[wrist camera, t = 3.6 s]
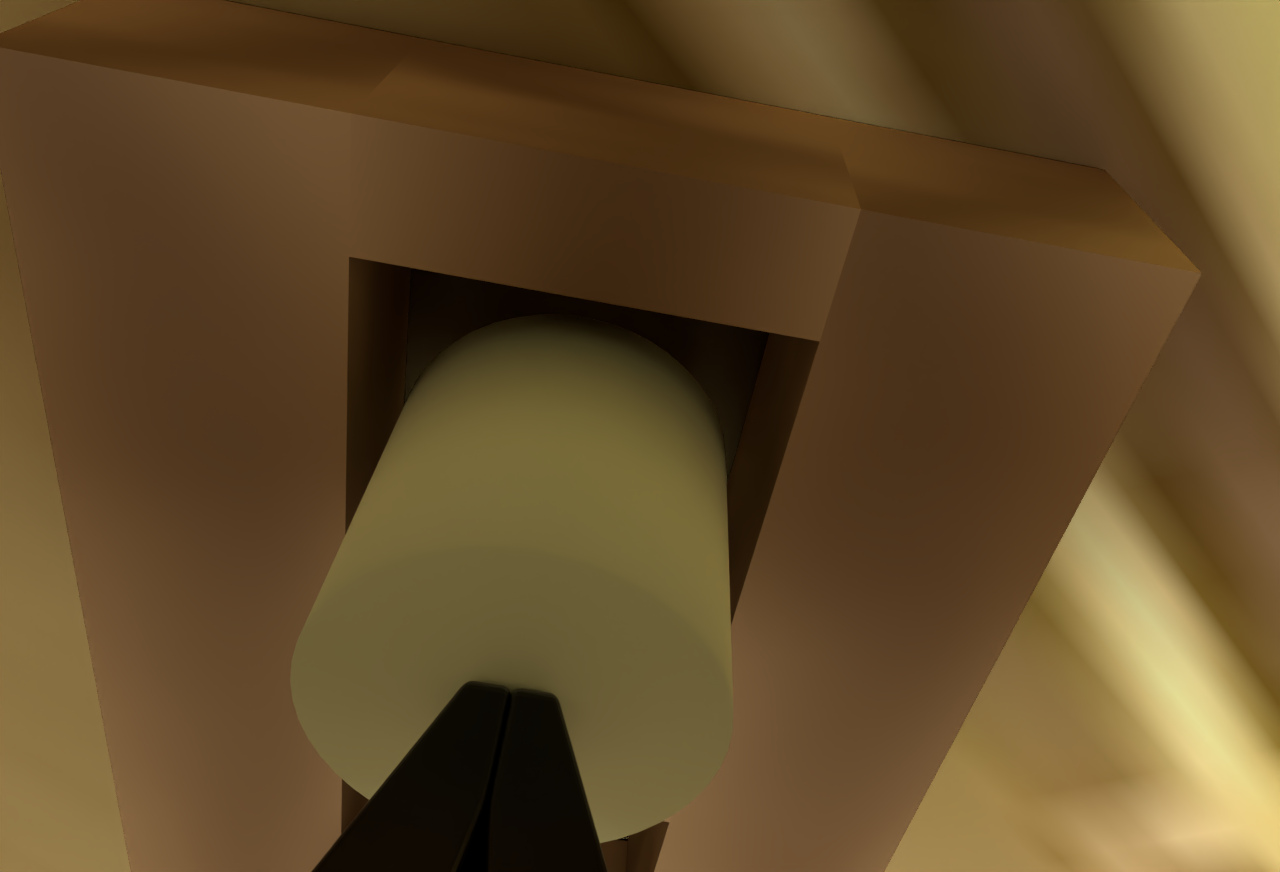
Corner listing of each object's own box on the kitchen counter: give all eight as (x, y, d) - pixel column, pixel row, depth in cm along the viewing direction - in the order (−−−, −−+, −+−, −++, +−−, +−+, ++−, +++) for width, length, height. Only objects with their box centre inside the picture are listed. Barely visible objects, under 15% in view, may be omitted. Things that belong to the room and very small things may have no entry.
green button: (393, 555, 14) (294, 815, 10) (407, 285, 11) (284, 507, 8) (689, 603, 14) (684, 875, 10) (760, 349, 12) (782, 591, 8)
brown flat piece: (233, 1023, 26) (183, 1158, 24) (127, -19, 12) (-24, 43, 10) (696, 1087, 27) (696, 1225, 24) (1104, 169, 13) (1201, 273, 10)
